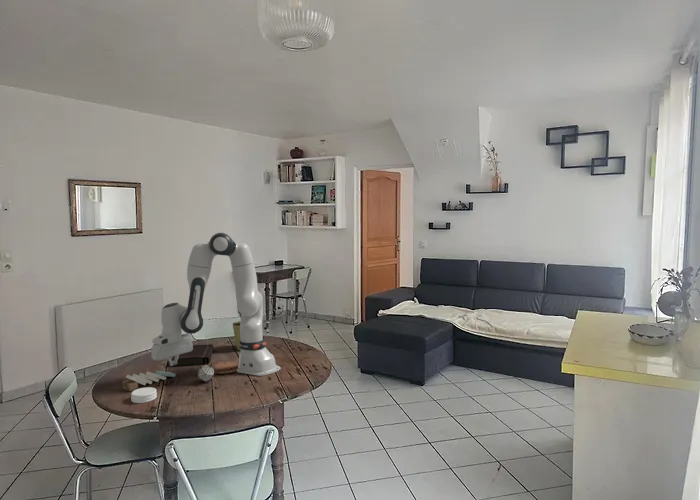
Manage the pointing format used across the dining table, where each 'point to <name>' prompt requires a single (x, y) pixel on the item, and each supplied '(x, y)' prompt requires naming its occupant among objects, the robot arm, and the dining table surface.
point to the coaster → (143, 395)
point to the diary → (195, 356)
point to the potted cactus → (237, 332)
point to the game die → (205, 373)
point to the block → (130, 385)
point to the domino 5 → (165, 373)
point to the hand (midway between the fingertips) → (173, 364)
